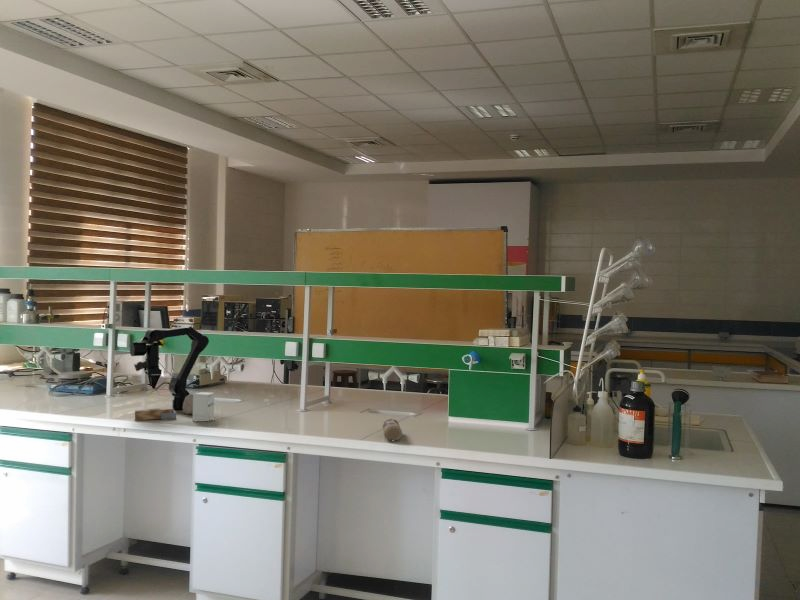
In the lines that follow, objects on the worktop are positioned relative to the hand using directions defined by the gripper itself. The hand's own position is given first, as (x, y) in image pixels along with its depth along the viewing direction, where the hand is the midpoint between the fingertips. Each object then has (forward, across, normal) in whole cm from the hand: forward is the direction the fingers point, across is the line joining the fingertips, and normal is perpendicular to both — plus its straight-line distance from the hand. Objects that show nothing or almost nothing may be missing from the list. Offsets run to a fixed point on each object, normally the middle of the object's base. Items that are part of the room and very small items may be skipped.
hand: (152, 387), depth 356 cm
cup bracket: (+12, +19, +5) cm, 23 cm away
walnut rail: (+12, +19, -2) cm, 22 cm away
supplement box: (+12, +30, +19) cm, 38 cm away
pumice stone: (+12, +13, +19) cm, 26 cm away
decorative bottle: (+12, +90, +88) cm, 126 cm away
